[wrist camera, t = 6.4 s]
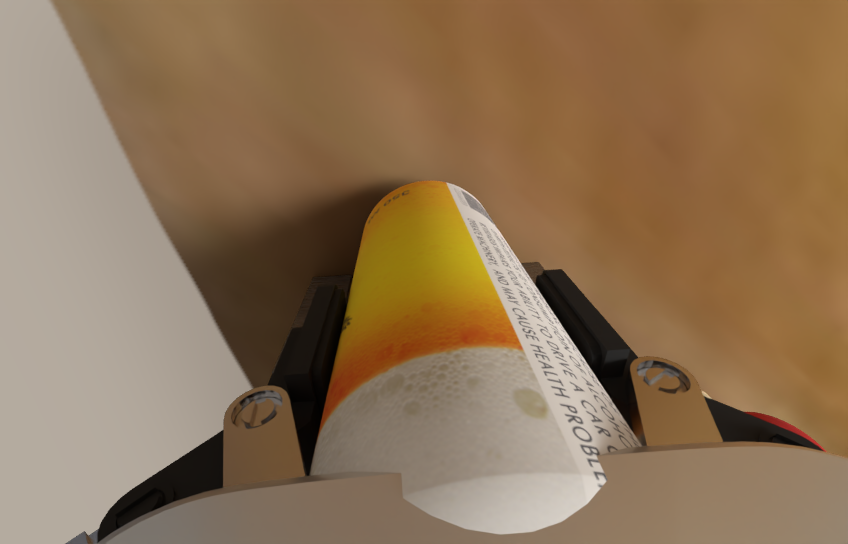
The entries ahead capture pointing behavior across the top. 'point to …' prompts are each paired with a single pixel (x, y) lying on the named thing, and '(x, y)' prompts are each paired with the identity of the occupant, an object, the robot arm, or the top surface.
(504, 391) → the beer can
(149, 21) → the top surface
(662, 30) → the top surface
